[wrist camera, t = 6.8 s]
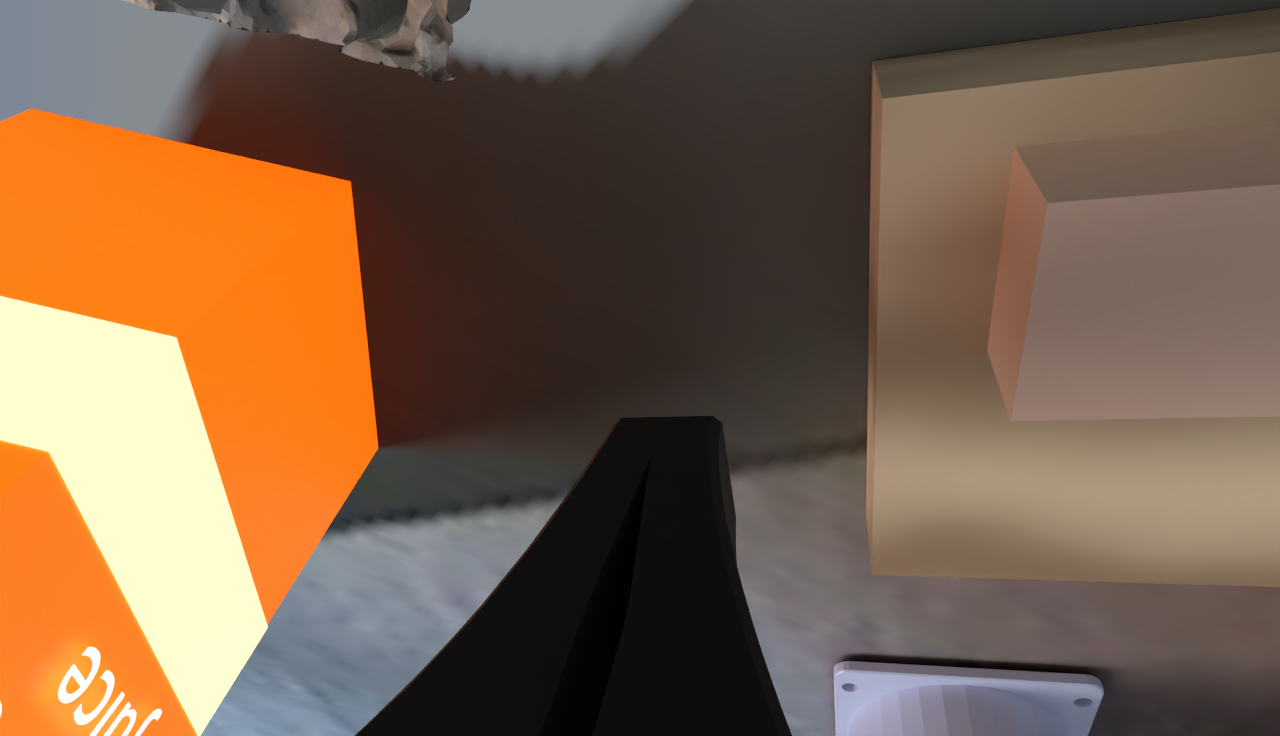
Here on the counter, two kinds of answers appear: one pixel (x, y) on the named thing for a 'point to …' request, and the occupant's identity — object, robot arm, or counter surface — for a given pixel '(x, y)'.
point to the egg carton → (346, 26)
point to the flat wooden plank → (962, 309)
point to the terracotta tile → (1141, 277)
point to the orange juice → (163, 416)
